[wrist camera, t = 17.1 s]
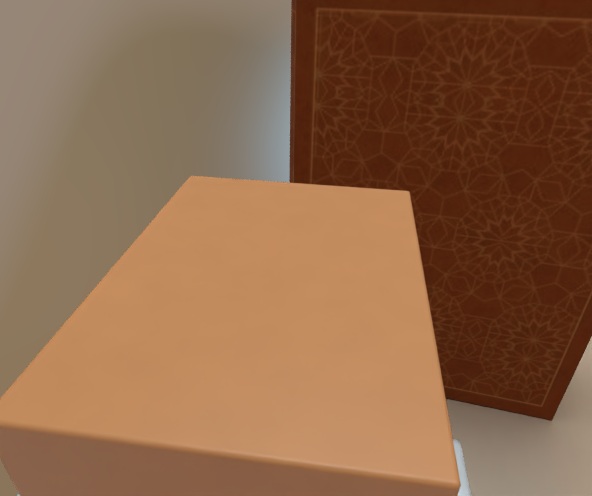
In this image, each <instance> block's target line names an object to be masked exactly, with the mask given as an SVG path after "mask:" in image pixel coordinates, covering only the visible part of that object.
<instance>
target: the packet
mask: <svg viewBox="0 0 592 496" xmlns="http://www.w3.org/2000/svg"><path fill="white" fill-rule="evenodd" d="M0 459H1V461H2V463H3V465H4V467H5V469H6V470H7V472H8V474H9V476H10V478H11V480H12V482H13V484H14V485H15V488H16V490H17V491H18V493H19V495H20V496H457V495H458V492H459V489H460V486H461V484H460V478H459V472H458V466H457V461H456V455H455V449H454V443H453V438H452V432H451V426H450V421H449V415H448V409H447V403H446V398H445V392H444V386H443V380H442V375H441V369H440V363H439V357H438V352H437V346H436V340H435V335H434V329H433V323H432V317H431V312H430V306H429V300H428V294H427V289H426V283H425V277H424V271H423V266H422V260H421V254H420V249H419V243H418V237H417V231H416V226H415V220H414V214H413V208H412V203H411V197H410V192H409V191H400V190H386V189H372V188H358V187H343V186H329V185H315V184H300V183H286V182H271V181H257V180H243V179H228V178H215V177H201V176H190V177H189V178H188V179H187V181H186V182H185V183H184V184H183V185H182V186H181V188H180V189H179V190H178V191H177V192H176V194H175V195H174V196H173V197H172V198H171V199H170V200H169V202H168V203H167V204H166V205H165V206H164V208H163V209H162V210H161V211H160V212H159V213H158V214H157V216H156V217H155V218H154V219H153V220H152V221H151V223H150V224H149V225H148V226H147V227H146V229H145V230H144V231H143V232H142V233H141V234H140V236H139V237H138V238H137V239H136V240H135V241H134V243H133V244H132V245H131V246H130V247H129V249H127V251H126V252H125V253H124V254H123V255H122V257H121V258H120V259H119V260H118V261H117V262H116V264H115V265H114V266H113V267H112V268H111V269H110V271H109V272H108V273H107V274H106V275H105V276H104V278H103V279H102V280H101V281H100V282H99V283H98V285H97V286H96V287H95V288H94V289H93V291H92V292H91V293H90V294H89V295H88V296H87V297H86V299H85V300H84V301H83V302H82V303H81V305H80V306H79V307H78V308H77V309H76V310H75V312H74V313H73V314H72V315H71V316H70V317H69V318H68V320H67V321H66V322H65V323H64V324H63V326H62V327H61V328H60V329H59V330H58V331H57V333H56V334H55V335H54V336H53V337H52V338H51V340H50V341H49V342H48V343H47V344H46V345H45V347H44V348H43V349H42V350H41V351H40V352H39V354H38V355H37V356H36V357H35V358H34V359H33V361H32V362H31V363H30V364H29V366H27V368H26V369H25V370H24V371H23V372H22V373H21V375H20V376H19V377H18V378H17V379H16V381H15V382H14V383H13V384H12V385H11V386H10V387H9V389H8V390H7V391H6V392H5V393H4V395H3V396H2V397H1V398H0Z"/></svg>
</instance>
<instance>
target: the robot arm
mask: <svg viewBox="0 0 592 496" xmlns="http://www.w3.org/2000/svg"><path fill="white" fill-rule="evenodd" d="M453 443H454V449H455V455H456V461H457V466H458V472H459V478H460V484H461V486H460V489H459V492H458V495H457V496H471V492H470V487H469V482H468V477H467V472H466V467H465V461H464V456H463V451H462V446H461V444H460V442H459V441H458V440H455V439H453ZM16 496H20V495H19V494H17V495H16Z"/></svg>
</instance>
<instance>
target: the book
mask: <svg viewBox="0 0 592 496" xmlns="http://www.w3.org/2000/svg"><path fill="white" fill-rule="evenodd" d="M291 20H292V21H291V107H290V183H300V184H315V185H329V186H343V187H358V188H372V189H386V190H400V191H409V192H410V197H411V203H412V208H413V214H414V220H415V226H416V231H417V237H418V243H419V249H420V254H421V260H422V266H423V271H424V277H425V283H426V289H427V294H428V300H429V306H430V312H431V317H432V323H433V329H434V335H435V340H436V346H437V352H438V357H439V363H440V369H441V375H442V380H443V386H444V392H445V398H449V399H453V400H458V401H463V402H468V403H473V404H477V405H482V406H487V407H492V408H497V409H501V410H506V411H511V412H516V413H521V414H525V415H530V416H535V417H540V418H544V419H549V420H552V419H553V417H554V415H555V413H556V411H557V408H558V406H559V404H560V402H561V400H562V398H563V396H564V394H565V391H566V389H567V387H568V385H569V383H570V381H571V379H572V377H573V374H574V372H575V370H576V368H577V366H578V364H579V362H580V360H581V358H582V355H583V353H584V351H585V349H586V347H587V345H588V343H589V341H590V338H591V336H592V0H292V16H291Z"/></svg>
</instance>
